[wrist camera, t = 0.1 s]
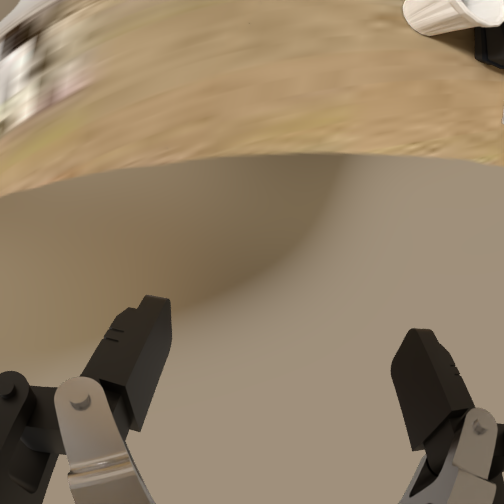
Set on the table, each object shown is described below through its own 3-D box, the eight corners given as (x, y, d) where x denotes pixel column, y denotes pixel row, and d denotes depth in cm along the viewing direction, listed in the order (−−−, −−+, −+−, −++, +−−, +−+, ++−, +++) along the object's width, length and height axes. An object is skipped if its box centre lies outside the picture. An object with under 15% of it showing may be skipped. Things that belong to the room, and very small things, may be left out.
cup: (432, 53, 29) (495, 42, 16) (385, 15, 27) (434, -18, 15) (454, 19, 25) (514, 1, 13) (409, -19, 24) (458, -54, 11)
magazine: (477, 79, 28) (542, 42, 13) (458, 9, 26) (504, -37, 11) (495, 86, 28) (560, 55, 13) (476, 17, 26) (523, -24, 11)
